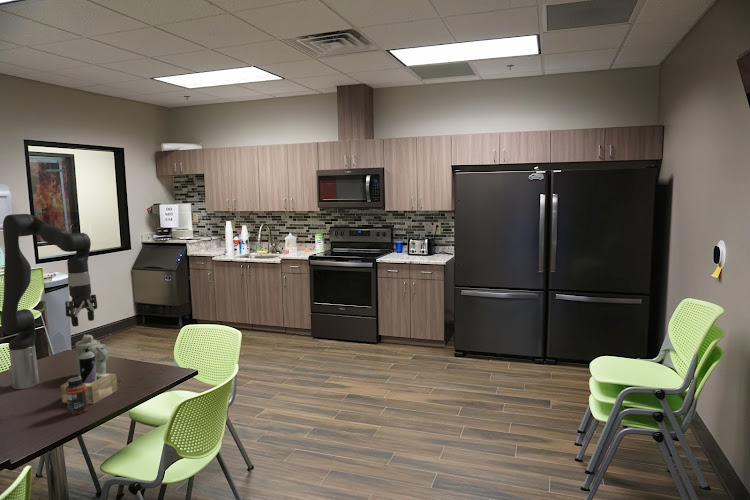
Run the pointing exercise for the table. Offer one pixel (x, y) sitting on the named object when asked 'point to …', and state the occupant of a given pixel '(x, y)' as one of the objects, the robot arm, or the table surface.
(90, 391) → the tube block
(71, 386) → the supplement bottle
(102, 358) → the grey animal cookie jar
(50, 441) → the table surface
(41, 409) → the table surface
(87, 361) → the spray can
